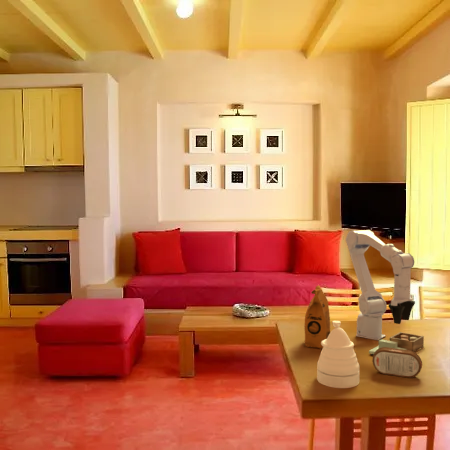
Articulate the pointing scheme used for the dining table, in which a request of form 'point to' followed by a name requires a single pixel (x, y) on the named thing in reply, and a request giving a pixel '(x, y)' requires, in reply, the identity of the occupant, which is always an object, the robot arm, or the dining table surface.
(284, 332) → the dining table surface
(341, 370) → the honey pot
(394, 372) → the tin
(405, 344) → the crate
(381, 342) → the lid
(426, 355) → the dining table surface
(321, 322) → the coffee package
